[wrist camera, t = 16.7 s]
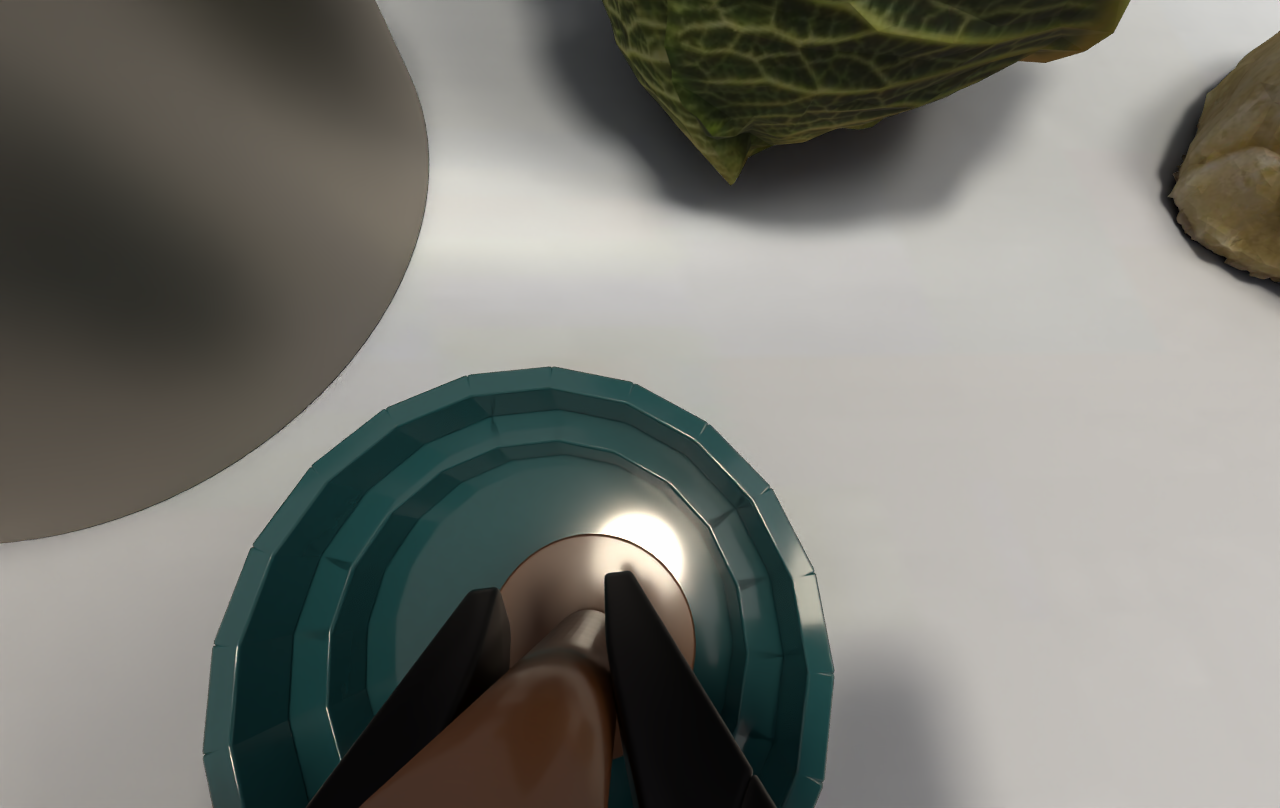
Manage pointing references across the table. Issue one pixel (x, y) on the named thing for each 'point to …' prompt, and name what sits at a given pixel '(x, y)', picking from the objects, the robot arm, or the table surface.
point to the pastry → (1237, 167)
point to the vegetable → (830, 59)
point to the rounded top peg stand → (544, 690)
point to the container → (187, 235)
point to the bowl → (508, 573)
